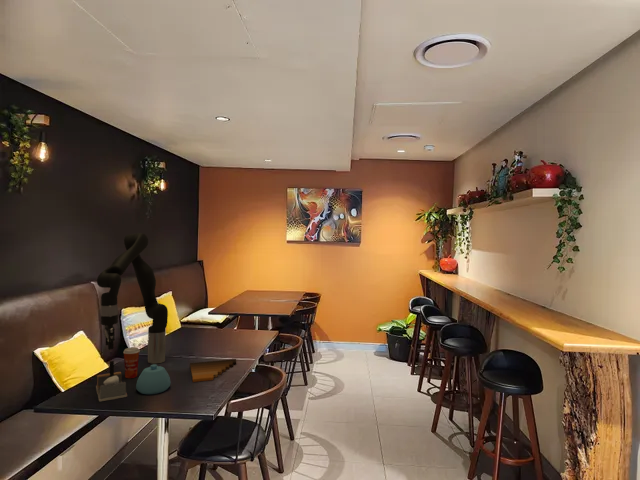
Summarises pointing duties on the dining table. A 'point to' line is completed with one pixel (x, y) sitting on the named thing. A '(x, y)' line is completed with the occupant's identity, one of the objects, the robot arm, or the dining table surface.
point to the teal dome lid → (153, 380)
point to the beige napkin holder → (111, 391)
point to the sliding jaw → (104, 376)
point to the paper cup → (131, 362)
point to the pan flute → (209, 369)
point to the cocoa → (111, 376)
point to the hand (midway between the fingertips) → (109, 347)
